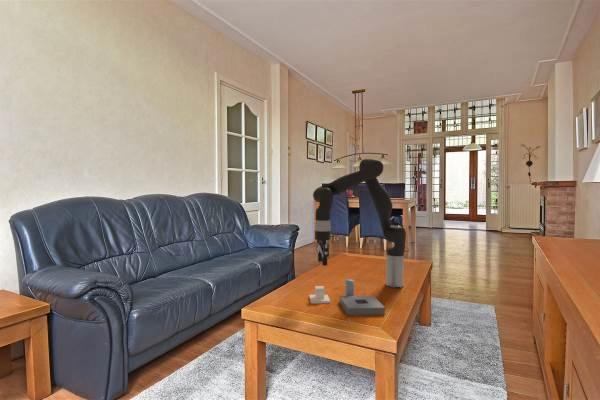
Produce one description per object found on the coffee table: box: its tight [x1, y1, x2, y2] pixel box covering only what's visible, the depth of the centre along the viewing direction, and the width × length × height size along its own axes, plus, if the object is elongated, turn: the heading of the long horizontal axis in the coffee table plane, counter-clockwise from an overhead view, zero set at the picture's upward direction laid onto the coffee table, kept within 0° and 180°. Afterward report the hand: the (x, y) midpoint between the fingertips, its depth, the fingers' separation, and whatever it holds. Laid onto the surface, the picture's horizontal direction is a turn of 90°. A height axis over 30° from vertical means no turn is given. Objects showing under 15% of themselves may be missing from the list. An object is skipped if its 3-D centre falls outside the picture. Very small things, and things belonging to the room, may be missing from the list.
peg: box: [344, 278, 355, 296], centre depth 160 cm, size 4×4×9 cm
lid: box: [308, 285, 331, 304], centre depth 158 cm, size 9×9×6 cm
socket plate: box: [339, 295, 386, 316], centre depth 148 cm, size 16×16×3 cm
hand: (322, 263), depth 158 cm, fingers open, 8 cm apart
